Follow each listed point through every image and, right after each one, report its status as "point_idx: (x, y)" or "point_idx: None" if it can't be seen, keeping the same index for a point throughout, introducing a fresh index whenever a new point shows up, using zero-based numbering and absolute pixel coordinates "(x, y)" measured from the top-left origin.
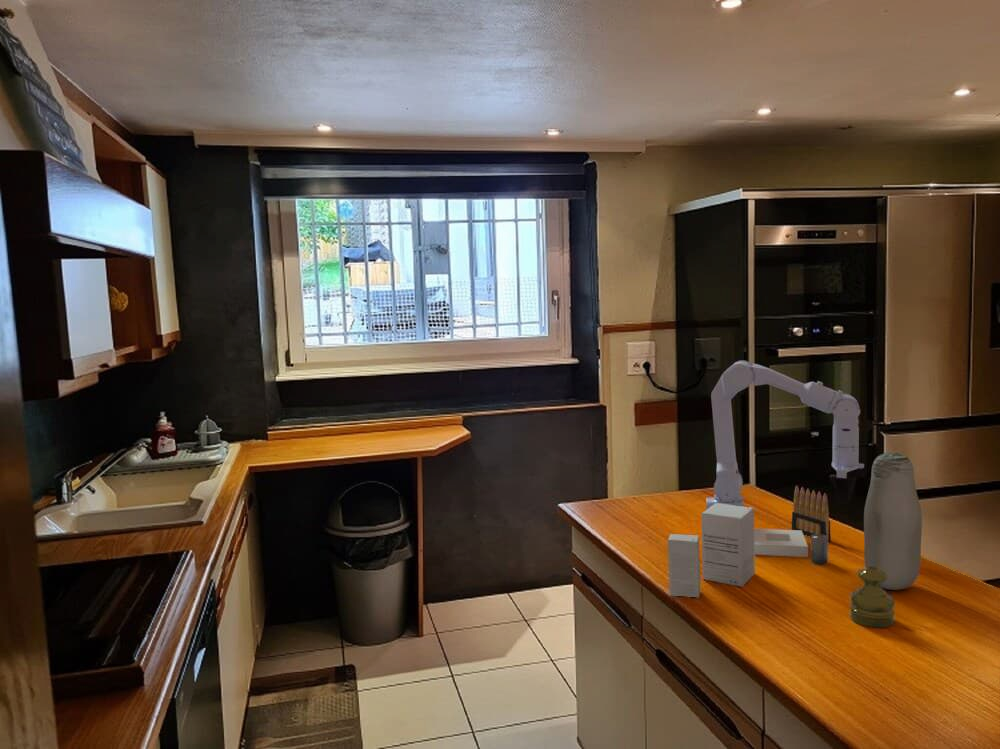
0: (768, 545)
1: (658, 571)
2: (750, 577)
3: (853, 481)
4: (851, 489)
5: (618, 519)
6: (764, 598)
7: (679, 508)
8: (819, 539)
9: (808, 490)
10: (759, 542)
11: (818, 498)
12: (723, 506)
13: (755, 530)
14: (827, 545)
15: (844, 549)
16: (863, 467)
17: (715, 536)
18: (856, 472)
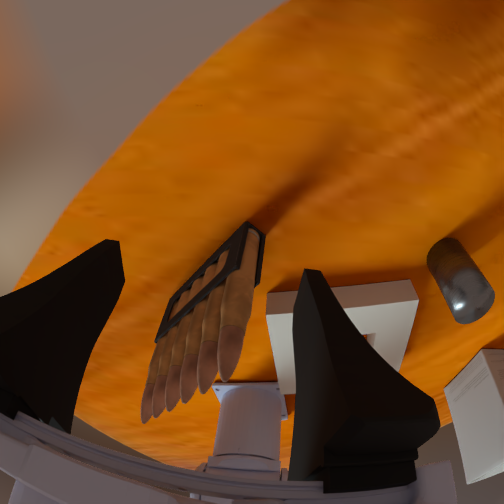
0: (400, 363)
1: (444, 419)
2: (497, 349)
3: (435, 407)
4: (95, 273)
5: None
6: None
7: (146, 428)
8: (491, 303)
9: (173, 403)
10: None
11: (217, 368)
12: (493, 473)
13: (294, 388)
14: (478, 270)
15: (329, 183)
16: (126, 486)
17: None
18: (13, 347)
